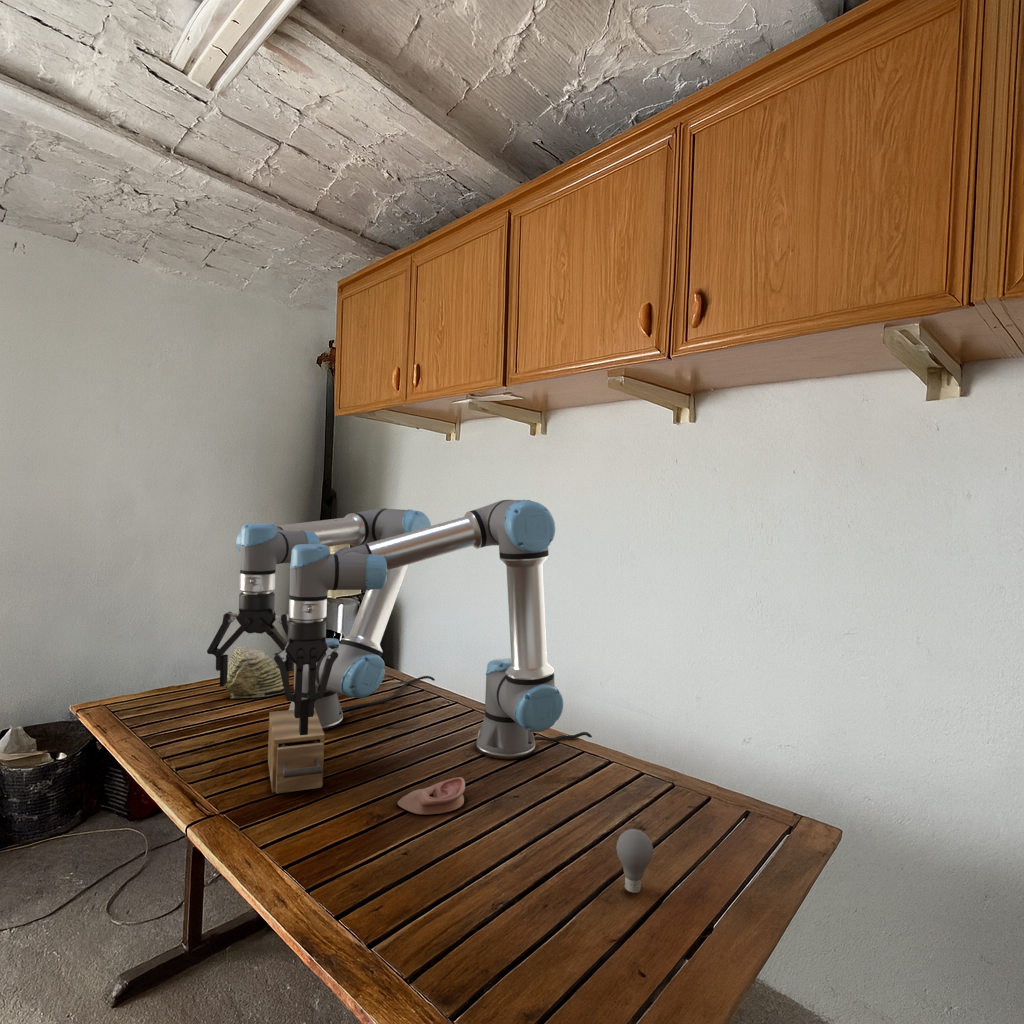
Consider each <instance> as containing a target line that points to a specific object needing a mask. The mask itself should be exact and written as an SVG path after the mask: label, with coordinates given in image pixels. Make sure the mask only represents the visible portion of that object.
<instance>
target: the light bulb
mask: <svg viewBox="0 0 1024 1024" xmlns="http://www.w3.org/2000/svg"><path fill="white" fill-rule="evenodd" d="M615 849H616V854H617V857H618V859H619V861H620V863H621V865H622V867H623V873H624V874H623V875H624V876H625V878H624V888H625V890H627V891H628V892H630V893H634V894H635V893H639V892H640V891H641V889H642V887H641V886H642V879H643V877H644V875H645V871H646V868H647V867H648V866H649V864H650V863H651V861H652V859H653V855H654V847H653V843H652V841H651V838H649V836H648V835H647V834H646V833H645V832H643V831H642V830H641V829H636V828H629V829H627V830H625V831H623V832H622V833H621V834H620V835H619V837H618V839H617V841H616V847H615Z"/></svg>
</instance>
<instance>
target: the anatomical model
mask: <svg viewBox="0 0 1024 1024" xmlns="http://www.w3.org/2000/svg"><path fill="white" fill-rule="evenodd" d="M465 789H466V781H465V779H464V778H463V777H461V776H459V777H453V778H449V779H446V780H442V781H439V782H437V783H435V784H432V785H431V786H430V785H429V786H428V787H425V788H419V789H416V790H412V791H411V792H409V793H406V794H405V795H403V796H402V797H401V798H400V799H399V800H398V801H397V806H398V807H400V808H402V809H403V810H405V811H408V812H410V813H413V814H414V815H415V814H416V815H422V816H423V815H424V816H425V815H436V814H445V813H448V812H449V813H450V812H453V811H455V810H457V809H460V808H461V807H462V806H464V802H465V797H464V792H465Z"/></svg>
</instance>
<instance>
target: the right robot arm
mask: <svg viewBox="0 0 1024 1024" xmlns="http://www.w3.org/2000/svg"><path fill="white" fill-rule="evenodd" d="M555 536H556V522H555V518H554V516H553V514H552V513H551V511H550V510H549V509H548V508H547V507H546V506H545V505H544V504H541V503H540V502H537V501H534V500H531V499H502V500H498V501H496V502H493V503H490V504H487V505H485V506H482V507H478V508H476V509H472V510H468V511H466V512H465V514H464V515H463V516H462V517H458V518H455V519H451V520H447V521H444V522H441V523H437V524H434V525H431V526H429V527H426V528H422V529H418V530H415V531H411V532H407V533H404V534H400V535H396V536H393V537H389V538H385V539H382V540H378V541H374V542H371V543H367V544H364V545H358V546H352V547H342V548H339V549H337V550H336V551H335V552H334V553H331V551H330V547H328V546H327V545H321V544H299V545H296V546H294V547H293V549H292V553H291V563H289V564H290V565H289V592H288V593H289V597H288V613H289V614H288V617H289V620H290V621H289V622H288V637H287V640H286V642H287V643H286V645H285V649H284V650H281V651H279V652H275V653H273V656H272V657H273V661H274V663H275V664H276V666H278V669H279V670H280V674H281V678H282V683H283V687H284V696H285V699H286V701H287V702H294V716H295V718H299V733H300V735H308V717H313V715H314V702H315V701H316V700H317V699H319V698H323V697H324V694H325V690H326V687H327V683H328V679H329V676H330V672H331V669H332V665H333V663H334V661H335V660H336V659H337V657H338V653H337V651H336V650H332V649H330V648H329V647H328V644H327V642H326V638H327V620H326V619H325V618H327V616H328V615H327V613H328V610H327V609H328V592H329V591H366V590H368V591H369V590H373V589H382V588H383V587H384V586H385V584H386V579H387V571H388V570H392V569H395V568H398V567H402V566H405V565H408V566H409V565H412V564H416V563H419V562H422V561H425V560H429V559H432V558H436V557H440V556H442V555H443V556H444V555H447V554H451V553H454V552H457V551H461V550H464V549H467V548H470V547H472V548H475V549H477V550H478V549H482V548H486V547H491V546H498V552H499V553H498V554H499V560H500V561H501V562H503V564H505V566H506V583H507V584H506V585H507V586H506V587H507V602H508V603H507V605H508V622H509V642H510V658H509V657H508V658H497V659H492V660H490V661H489V662H488V663H487V665H486V672H485V696H484V697H485V699H484V704H485V705H484V718H483V721H482V723H481V727H480V728H479V730H478V732H477V737H476V743H475V745H476V750H477V751H478V752H479V753H480V754H482V755H483V756H486V757H489V758H492V759H497V760H519V759H525V758H527V757H529V756H531V755H533V754H534V753H535V751H536V741H547V742H556V741H559V740H567V739H568V740H572V739H577V738H579V737H583V736H586V737H587V738H593V736H592V735H591V733H589V732H588V731H580V732H579V733H576V734H571V735H569V734H567V735H568V736H566V734H563V735H558V736H555V737H547V736H535V735H534V733H541V732H544V731H547V730H549V729H550V728H552V727H553V726H554V725H555V723H557V721H558V720H559V719H560V718H561V716H562V713H563V710H564V697H563V695H562V693H561V691H560V690H559V689H558V687H556V681H555V669H554V667H553V666H552V665H551V664H550V663H548V651H547V629H546V609H545V607H546V606H545V587H544V584H545V583H544V566H543V565H544V563H545V561H547V559H549V556H550V554H549V546H550V545H551V543H552V542H553V541H554V538H555ZM325 652H326V655H325V657H326V661H325V664H324V668H323V671H322V675H321V678H320V682H319V685H318V689H317V691H316V692H315V680H316V663H317V662H318V661H319V660H320V658H321V657H322V656H323V654H324V653H325ZM287 654H288V655H289V657H290V658H291V659H292V661H293V662H294V663H295V666H296V670H295V694H294V692H292V690H291V685H290V679H289V680H288V675H287V671H286V667H285V663H284V662H285V661H286V655H287ZM305 664H308V699H304V700H302V679H303V665H305Z"/></svg>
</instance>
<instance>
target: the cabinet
mask: <svg viewBox="0 0 1024 1024" xmlns="http://www.w3.org/2000/svg"><path fill="white" fill-rule="evenodd" d="M268 716H269V717H268V741H267V743H268V744H267V764H268V772H269V779H270V787H271V788H270V789H271V793H272V794H273V793H276V771H277V748H278V747H279V744H282V743H291V742H300V741H309V740H317V741H318V743H322V742H323V766H324V763H325V735H326V734H325V731H323V729H322V726H321V724H320V721H319V718H318V716H317V713H316V710H315V708H314V715H313V717H308V735H300V733H299V718H295V716H294V710H289V709H288V710H287V709H286V710H276V711H269V713H268ZM323 786H324V767H323V768H322V787H323Z"/></svg>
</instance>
